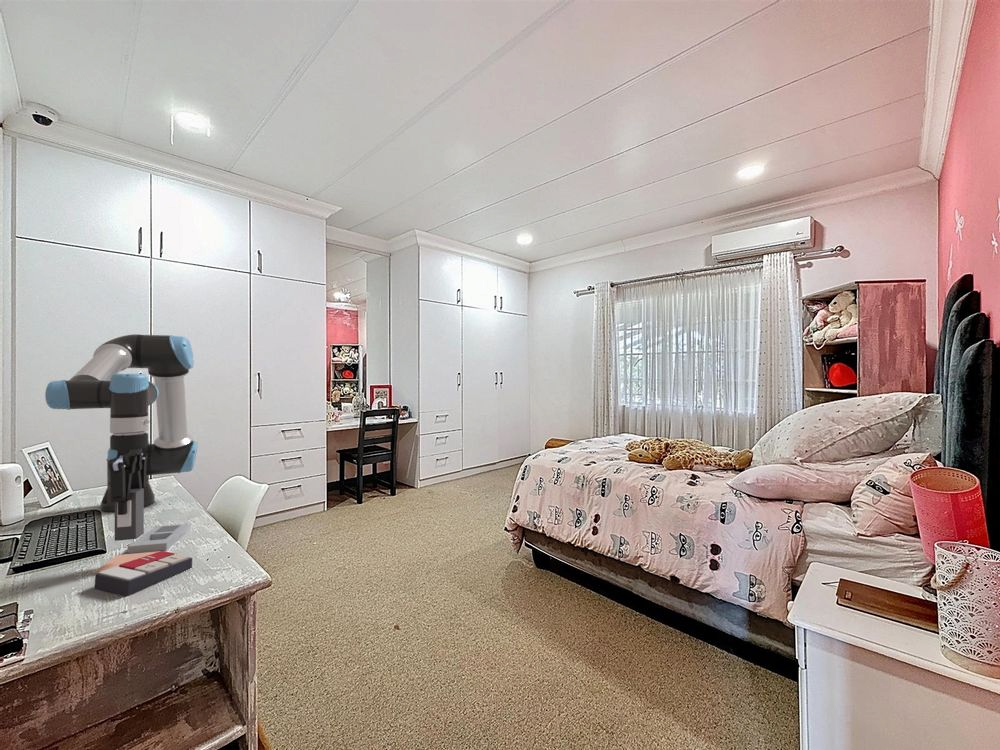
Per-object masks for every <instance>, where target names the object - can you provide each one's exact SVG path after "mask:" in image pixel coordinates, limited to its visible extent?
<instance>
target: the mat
mask: <svg viewBox="0 0 1000 750" xmlns="http://www.w3.org/2000/svg"><path fill="white" fill-rule="evenodd" d="M157 552H160V551H152V552H142V553H131V554H128V553H126V554H116V555H115V556H114V557H113V558H111V559H110V560H108V561H107V562H105V563H104V564H103V565H101V566H100V567H98V568H97V569H96V570H94V571H93V575H96V574H97V573H99V572H101V571H104V570H107V569H110V568H113V567H119V565H120V564H123V563H126V562H129V561H132V560H135V559H138V558H142V557H145V556H148V555H151V554H154V553H157Z"/></svg>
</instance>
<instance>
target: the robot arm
mask: <svg viewBox="0 0 1000 750" xmlns="http://www.w3.org/2000/svg"><path fill="white" fill-rule="evenodd" d="M192 348H193V347H192V345H191V343H190V340H189V338H187V337H185V336H179V335H172V334H171V335H169V334H167V335H165V334H163V335H161V334H160V335H159V334H158V335H157V334H136V333H135V334H127V335H122V336H118V337H116V338H113V339H109V340H108V341H106V342H104V343H102V344H101V345H100V346H98V347H97V348H96V349H95V350H94V352H93V354H92V358H91V359H90V360H89V361H88V362H87V363H86V364H85V365H83V367H82V368H81V369H79V370H78V371H77V372H76V374H74V376H72V377H71V378H70V379H69V380H65V379H61V380H51V381H50V382H48V384H47V386H46V388H45V392H44V393H45V394H44V397H45V398H44V399H45V402H46V404H47V406H48V407H49V408H50V409H53V410H87V409H89V410H91V409H110V410H109V411H110V413H109V414H110V416H109V433H110V434H112V435H110V436H109V448H108V449H107V458H106V462H107V463H106V466H107V467H106V471H107V472H106V475H107V479H106V480H107V482H106V483H107V484H106V486H107V488H106V489H105V492H104V495H103V497H102V499H101V502H100V511H102V512H109V513H110V512H115V502H117V527H128V526H131V525H132V500H129V498H130V489H140V488H144V508H145V507H147V506H150V505H152V504H154V503H155V501H156V500H155V499H156V498H155V494H154V491H153V489H152V486H151V484H150V481H149V480H150V476H155V475H156V476H157V475H168V474H181V473H188V472H191V471H192V470H193V469H194V467H195V464H196V458H197V452H198V451H197V450H198V441H195V440H193V436H192V435H191V434H189V433H188V423H187V410H186V409H187V407H186V406H187V405H186V391H185V388H186V387H185V377H186V376H187V375H188V374H189V373H190V370H191V369H193V368H194V363H195V361H194V353H193V349H192ZM127 369H147V373H148V375H149V376H150V377H152V378H153V379H154V383H153V382H152V381H149V377H148V375H147V374H146V373H120V372H122V371H125V370H127ZM153 403H155V404H156V405H155V406H156V419H157V429H158V437H157V438H155V439H154V441H153V443H150V441H149V434H148V432H147V431H148V430H149V424H150V423H151V421H150V420H149V406H151V405H153Z"/></svg>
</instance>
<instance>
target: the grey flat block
mask: <svg viewBox="0 0 1000 750" xmlns="http://www.w3.org/2000/svg"><path fill="white" fill-rule="evenodd" d="M190 530H191V523H180V524H168V525H166V524H165V525H156V526H155V527H152V529H149V531H147V532H146V533H144V534H142V535H141V536H139V537H138V538H137V539H135V541H133V542H132V543H131V544H129V545H128V546H127V554H135V553H146V552H157V551H168V550H169V549H170V548H171V547H172V546H173V545H175V544H176V543H177V542H178V541H179V540H181V538H182V537H184V536H185V535H186V534H187V533H188V532H189V531H190ZM184 534H185V535H184ZM183 535H184V536H183ZM175 542H176V543H175Z"/></svg>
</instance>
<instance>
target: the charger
mask: <svg viewBox="0 0 1000 750" xmlns="http://www.w3.org/2000/svg"><path fill="white" fill-rule="evenodd" d="M129 500H132V525H131V526H128V527H117V502H115V511H114V542H117V541H127V540H129V541H130V540H138V539H139V538H140V537H142V536H143V535H145V533H144V532H145V527H144V526H145V522H144V521H145V519H144V518H145V516H144V515H145V507H144V488H140V489H130V498H129Z"/></svg>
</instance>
